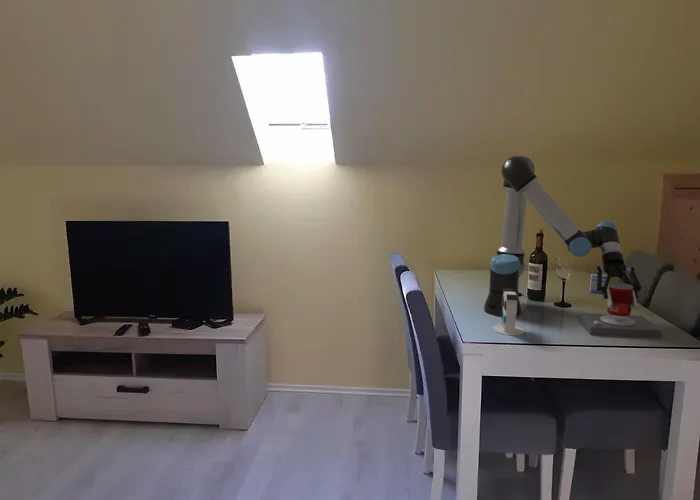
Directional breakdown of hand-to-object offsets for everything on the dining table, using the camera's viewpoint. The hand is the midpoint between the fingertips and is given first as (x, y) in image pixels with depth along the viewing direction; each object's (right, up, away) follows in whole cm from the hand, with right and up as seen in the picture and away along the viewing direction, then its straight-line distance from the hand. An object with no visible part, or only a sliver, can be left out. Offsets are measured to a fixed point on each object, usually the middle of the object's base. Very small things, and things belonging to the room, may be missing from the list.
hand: (622, 306), depth 195 cm
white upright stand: (-41, -10, +3) cm, 43 cm away
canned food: (+1, -3, +4) cm, 5 cm away
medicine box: (+19, 0, +59) cm, 62 cm away
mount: (0, -9, +5) cm, 10 cm away
